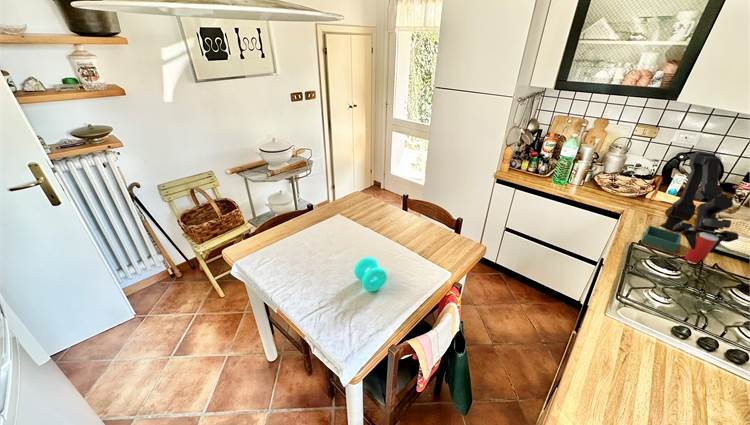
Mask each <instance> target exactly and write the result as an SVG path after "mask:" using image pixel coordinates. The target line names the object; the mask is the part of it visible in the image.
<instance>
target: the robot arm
mask: <svg viewBox="0 0 750 425" xmlns="http://www.w3.org/2000/svg"><path fill="white" fill-rule="evenodd" d="M721 161H722V159H721V157H719V156H717V155H716V154H715V153H713V152H705V151H695V152H694V153H691V154H690V156H689V163H688V165H689V168H690V173H689V175H688V177H687V180H686V182H685V185H684V188H683V190H682V193H681V195H680V198H678V199H677V200H676V201H674V202H673V203H672V205H671V206H670V207H668V208H667V209H665V212H664V215H665V216H666V217H667V218H666V220H665V221H664V223H662V224H660V225H659V226H660V227H662V228H664V229H666V230H668V231H671V232H677V233H680V235H683V236H684V238H685V239H686V241H687V242H688V245H689V246H690V249H691V248H692V249H694V247H695V241H696V239H697V237H696V236H697V234H700V233H701V232H705V233H709V234H712V235H715V236H717V237H718V238H719V240H718V241H717V242H716V244H715V245H714V246H713V248H712V249H711V251H710V252H709V254H712V253H713V252H714V251H715V250H716V248H717V247H718V246H719V244H721V242H725V243H731V242H733V241H737V240H739V237H740V235H739V234H738V232H735V231H730V230H724V228H726V229H729V228H731V225H732V220H730V219H726V218H725V219H724V218H723V219H722V220H720V219H719V217H717V216H718V215H717V214H721V213H722V212H724V211H727V210H729V209H731V208H733V206H734V202H733V200H732V199H731V198H730V197H728V194H726V193H723V188H722V187H721V186H720V185H719V171H720V170H719V169H720V168H719V166H720V164H721ZM700 185H701V187H700ZM695 199H696V201H697V202H701V203H700V204H699V205H696V204H695V202H694V200H695ZM696 210H697V212H696ZM695 212H696V213H695ZM695 214H696V218H695V219H694V222H695V226H693V224H692V223H689V221H690V220H692V219H693V217H694V216H695ZM684 221H687V222H684ZM719 230H723V231H719Z"/></svg>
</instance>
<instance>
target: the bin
mask: <svg viewBox="0 0 750 425" xmlns="http://www.w3.org/2000/svg"><path fill="white" fill-rule="evenodd" d="M681 239H682V234H681V233H678V232H677V233H676V232H674V231H671V230H668V229H663V228H660V227H656V226H653V225H648V226H647V228H646V230H645V232H644V233H643V237H642V239H641V243H642V244H645V245H648V246H651V247H654V248H658V249H660V250H663V251H667V252H669V253H673V254H676V252H677V250H678V249H679V247H680V245H681Z"/></svg>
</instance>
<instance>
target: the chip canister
mask: <svg viewBox="0 0 750 425" xmlns="http://www.w3.org/2000/svg"><path fill="white" fill-rule="evenodd" d="M698 234H699V235H698V236H697V237H696V238H695V247H694V249H692V248H691V247H690V249H689V250H688V251H687V253H686V255H685V256H684V258H683V259H684V260H685V259H687V260H689V261H691V262H695V263H698V262H699V261H700V260H701V259H702V260H703V262H704V261H705V260H706V258H707V257H708V256H709V254H710V251H711V249H712V248H713V246H714V245H715V244H716V242H717V241H718V240H719V238H718V237H717V236H715V235H712V234H709V233H705V232H701V233H698Z"/></svg>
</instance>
